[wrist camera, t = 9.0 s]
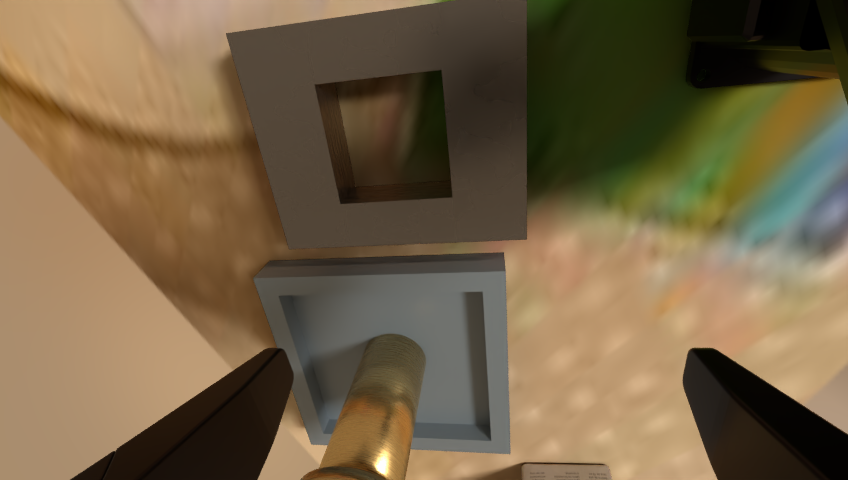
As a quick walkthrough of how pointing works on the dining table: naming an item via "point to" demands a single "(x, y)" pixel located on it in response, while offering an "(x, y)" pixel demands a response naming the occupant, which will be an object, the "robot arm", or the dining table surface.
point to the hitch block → (377, 57)
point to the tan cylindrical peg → (377, 414)
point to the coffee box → (565, 472)
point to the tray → (405, 315)
